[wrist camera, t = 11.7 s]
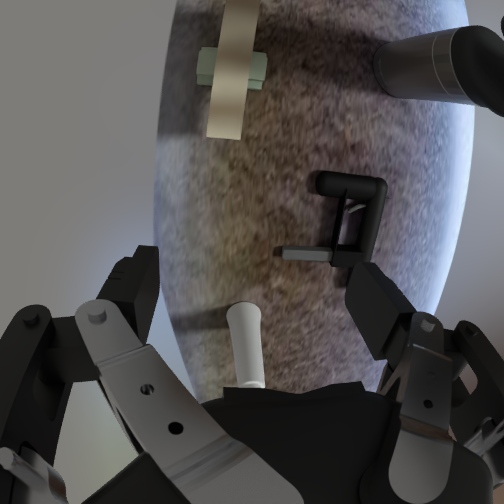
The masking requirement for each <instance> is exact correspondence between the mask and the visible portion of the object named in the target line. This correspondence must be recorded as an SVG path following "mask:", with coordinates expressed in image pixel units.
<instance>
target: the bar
mask: <svg viewBox="0 0 504 504" xmlns="http://www.w3.org/2000/svg"><path fill="white" fill-rule="evenodd" d="M260 1H261V0H226V5H225V10H224V16H223V21H222V27H221V33H220V39H219V45H218V51H217V58H216V65H215V72H214V79H213V86H212V94H211V102H210V110H209V118H208V127H207V136H206V137H215V138H227V139H237V140H240V137H241V130H242V122H243V114H244V107H245V100H246V93H247V86H248V79H249V72H250V65H251V58H252V51H253V45H254V38H255V32H256V26H257V19H258V13H259V7H260Z"/></svg>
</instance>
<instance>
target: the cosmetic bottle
mask: <svg viewBox="0 0 504 504" xmlns="http://www.w3.org/2000/svg"><path fill="white" fill-rule="evenodd" d="M226 318H227V321H228V325H229V328H230V333H231V338H232V345H233V353H234V361H235V368H236V376H237V382H238V387H239V388H265V381H264V369H263V359H262V349H261V337H260V319H261V312H260V310H259V308H258V307H257V306H256V305H254V304H252V303H249V302H240V303H236V304H234V305H233V306H231V307H230V308H229V309H228V311H227V314H226Z"/></svg>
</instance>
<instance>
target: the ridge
mask: <svg viewBox="0 0 504 504" xmlns="http://www.w3.org/2000/svg"><path fill="white" fill-rule="evenodd" d="M217 51H218V48H213V47H202V48H201V51H199V56H198V63H197V70H196V75H197V84H198V85H207V86H213V79H214V72H215V65H216V58H217ZM266 54H267V53H261V52H253V51H252V58H251V65H250V72H249V79H248V86H247V89H249V90H257V91H260V90H261V88H262V82H263V81H265V74H266V67H267V60H268V58H266Z"/></svg>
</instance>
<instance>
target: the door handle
mask: <svg viewBox="0 0 504 504" xmlns="http://www.w3.org/2000/svg"><path fill="white" fill-rule="evenodd" d="M387 189H388V186H387V183H386V181H385V180H384V179H382V178H379V177H376V178H372V177H366V176H360V175H353V174H346V173H339V172H331V171H322V172H321V173H320V174H319V175H318V177H317V180H316V190H317V192H318V194H319V195H321V196H328V197H337V198H340V199H339V205H338V210H337V216H336V221H335V226H334V231H333V236H332V241H331V245H330V247H309V246H283V247H282V254H281V256H282V259H291V260H312V261H329V263H330V265H331V267H350V272H349V275H348V279H347V287H348V284H349V281H350V278H351V275H352V272H353V269H354V266H355V264H356V263H357V262H370V260H371V256H372V253H373V249H374V245H375V241H376V238H377V234H378V230H379V225H380V221H381V217H382V213H383V208H384V204H385V199H386V198H387V197H386V194H387ZM346 199H354V200H363V201H366V203H363V204H358V205H356V206H354V207H352V208H350V209H348V211H349V212H350V213H352V212H353V211H355V210H357V209H359V208H362V207H365V208H364V213H363V217H362V222H361V226H360V231H359V235H358V240H357V244H356V245H342V244H338V240H339V235H340V230H341V225H342V220H343V215H344V210H345V205H346ZM390 199H391V198H390ZM346 290H347V288H346Z"/></svg>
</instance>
